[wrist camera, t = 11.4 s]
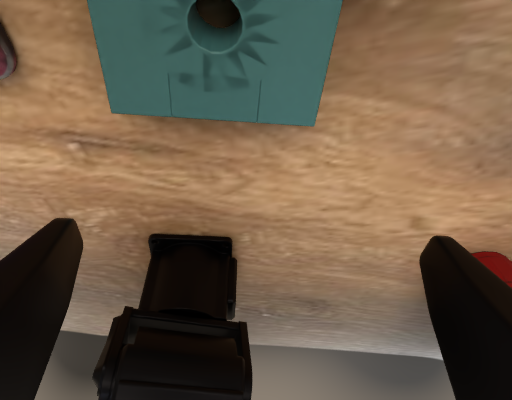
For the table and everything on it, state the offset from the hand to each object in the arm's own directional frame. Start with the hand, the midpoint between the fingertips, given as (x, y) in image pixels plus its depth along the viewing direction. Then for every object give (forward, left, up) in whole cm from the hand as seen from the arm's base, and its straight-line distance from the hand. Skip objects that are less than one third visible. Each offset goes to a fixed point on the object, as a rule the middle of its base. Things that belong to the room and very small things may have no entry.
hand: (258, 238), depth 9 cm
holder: (-2, +2, -13) cm, 13 cm away
